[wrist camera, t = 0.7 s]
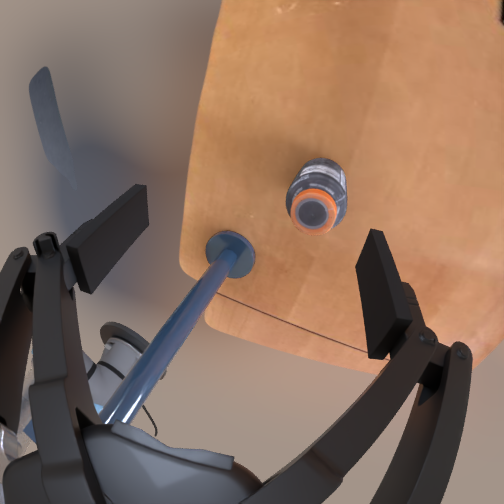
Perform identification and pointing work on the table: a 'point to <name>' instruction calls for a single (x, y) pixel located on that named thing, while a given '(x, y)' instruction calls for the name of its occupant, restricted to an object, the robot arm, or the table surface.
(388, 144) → the table surface
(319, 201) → the pill bottle
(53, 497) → the robot arm
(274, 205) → the table surface
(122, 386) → the square tray stand
